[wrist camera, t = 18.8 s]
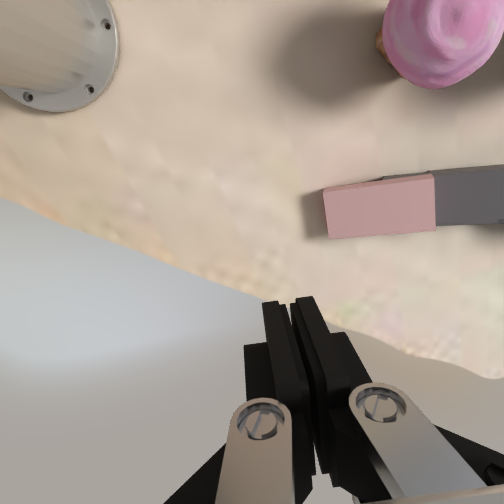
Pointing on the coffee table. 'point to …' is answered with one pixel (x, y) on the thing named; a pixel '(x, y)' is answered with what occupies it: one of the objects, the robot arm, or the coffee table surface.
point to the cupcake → (439, 38)
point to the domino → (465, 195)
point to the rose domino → (381, 207)
